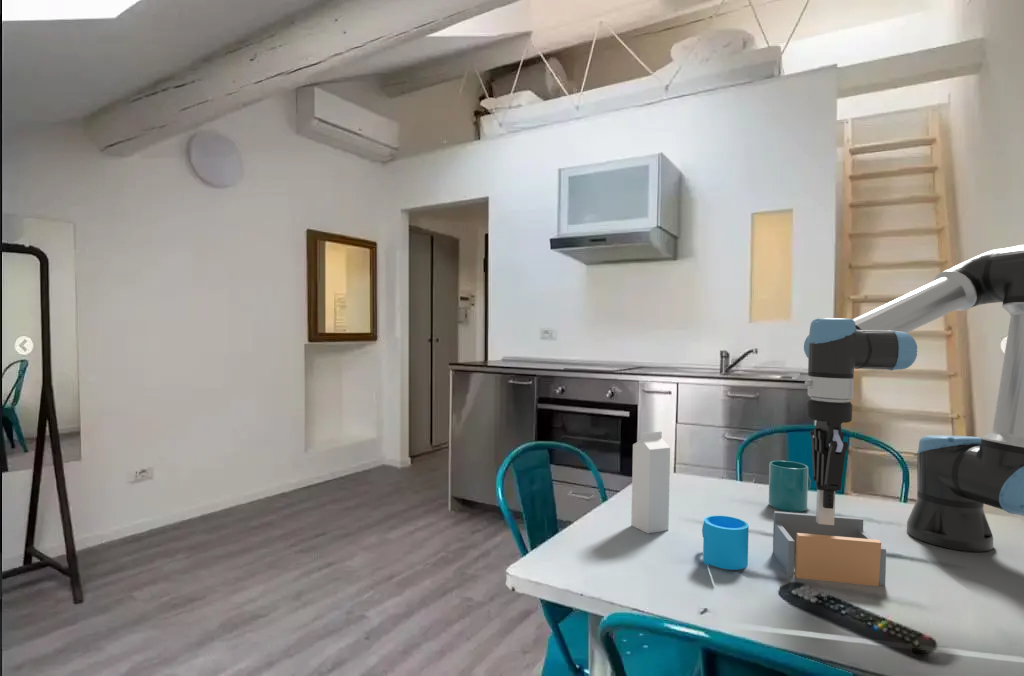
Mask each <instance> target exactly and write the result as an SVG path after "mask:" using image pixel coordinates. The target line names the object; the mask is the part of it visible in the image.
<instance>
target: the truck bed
mask: <svg viewBox="0 0 1024 676" xmlns="http://www.w3.org/2000/svg"><path fill="white" fill-rule="evenodd" d="M797 533H805V534H817V535H828V536H840V537H851V538H863V539H874V537H872V536H871V535H870V534H869V533H867V532H866V531H865V530H864V519H863V518H862V517H853V516H852V517H851V516H839V515H838V516H837V515H835V516H834V525H825V524H818V523H817V522H816V513H813V514H812V513H802V512H787V511H778V510H777V511H775V510H774V511H773V535H772V554H773V555H774V557H775V558H776V560H777V562H779V564H780V566H781V567H782V570H784V572H785V573H786V575H787V576H788V577H795V557H796V538H797ZM886 564H887V549H886V548H885V547H884V546H883V545H882V544H881V557H880V572H879V586H886V573H887V572H886V571H887V565H886Z"/></svg>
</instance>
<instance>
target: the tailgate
mask: <svg viewBox="0 0 1024 676" xmlns="http://www.w3.org/2000/svg"><path fill="white" fill-rule="evenodd" d="M881 545H882V542H881V541H880V539H874V538H873V539H863V538H851V537H840V536H828V535H817V534H805V533H797V538H796V557H795V574H794V577H795V578H796V579H804V580H814V581H815V580H816V581H822V582H823V581H824V582H826V581H827V582H833V583H841V584H842V583H844V584H855V585H864V586H874V587H879V586H880V585H879V572H880V557H881Z"/></svg>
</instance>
